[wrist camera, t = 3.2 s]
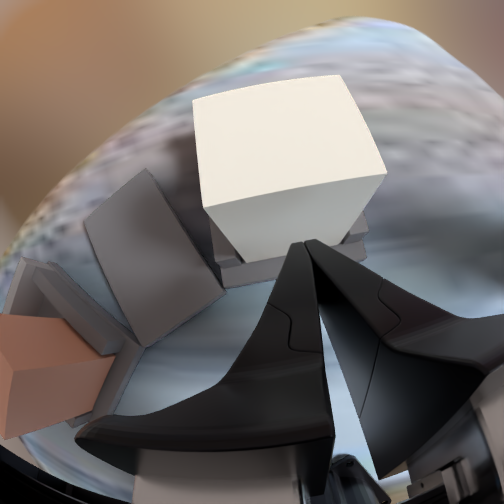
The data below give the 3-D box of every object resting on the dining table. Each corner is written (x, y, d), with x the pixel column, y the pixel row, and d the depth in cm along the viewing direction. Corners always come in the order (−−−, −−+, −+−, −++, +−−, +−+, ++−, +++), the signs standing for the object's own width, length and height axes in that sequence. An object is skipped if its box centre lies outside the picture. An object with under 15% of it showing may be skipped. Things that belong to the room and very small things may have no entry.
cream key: (338, 244, 14) (387, 173, 7) (246, 263, 15) (202, 208, 7) (320, 178, 15) (339, 74, 8) (234, 195, 16) (192, 100, 8)
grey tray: (410, 219, 15) (438, 195, 11) (77, 441, 15) (45, 455, 11) (284, 91, 19) (281, 52, 15) (16, 305, 18) (-16, 300, 14)
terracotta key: (115, 356, 14) (13, 371, 7) (91, 410, 14) (4, 440, 6) (76, 319, 15) (-21, 311, 8) (56, 373, 15) (-30, 382, 7)
